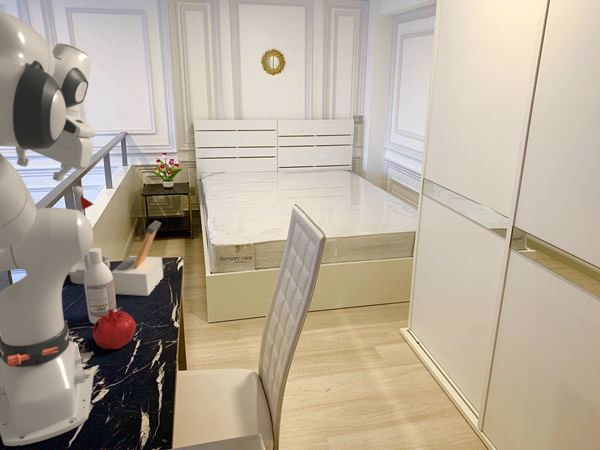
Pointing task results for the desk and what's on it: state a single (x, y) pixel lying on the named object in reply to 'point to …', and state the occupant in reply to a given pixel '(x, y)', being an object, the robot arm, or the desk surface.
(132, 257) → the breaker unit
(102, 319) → the pomegranate
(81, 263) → the flag stand
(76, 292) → the desk surface
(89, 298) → the bath foam
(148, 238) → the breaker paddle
